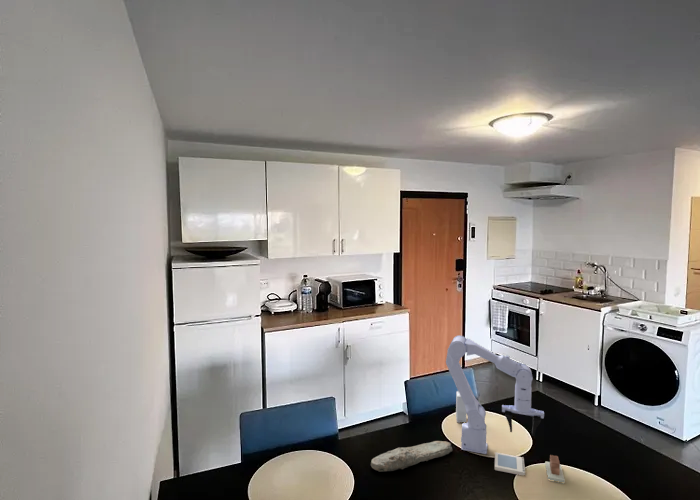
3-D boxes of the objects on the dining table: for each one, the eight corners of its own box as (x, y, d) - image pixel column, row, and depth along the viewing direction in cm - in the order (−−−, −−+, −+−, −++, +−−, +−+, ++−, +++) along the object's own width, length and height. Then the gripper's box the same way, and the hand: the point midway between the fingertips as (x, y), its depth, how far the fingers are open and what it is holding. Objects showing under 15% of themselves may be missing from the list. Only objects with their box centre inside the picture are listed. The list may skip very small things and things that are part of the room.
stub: (548, 480, 135) (548, 465, 135) (545, 464, 145) (545, 450, 145) (564, 483, 134) (564, 468, 133) (560, 467, 143) (560, 453, 143)
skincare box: (466, 423, 176) (466, 397, 176) (456, 422, 177) (456, 396, 177) (465, 417, 182) (465, 391, 182) (455, 416, 183) (456, 391, 183)
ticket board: (494, 469, 142) (494, 466, 142) (495, 455, 151) (495, 451, 151) (525, 475, 138) (525, 472, 138) (523, 460, 147) (523, 457, 147)
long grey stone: (458, 459, 151) (442, 447, 160) (458, 445, 152) (442, 434, 161) (378, 477, 137) (365, 464, 146) (379, 462, 137) (366, 449, 146)
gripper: (543, 396, 150) (542, 431, 151) (502, 390, 156) (501, 424, 156) (544, 404, 144) (543, 440, 144) (502, 397, 149) (501, 432, 150)
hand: (521, 432), depth 150 cm, fingers open, 7 cm apart
